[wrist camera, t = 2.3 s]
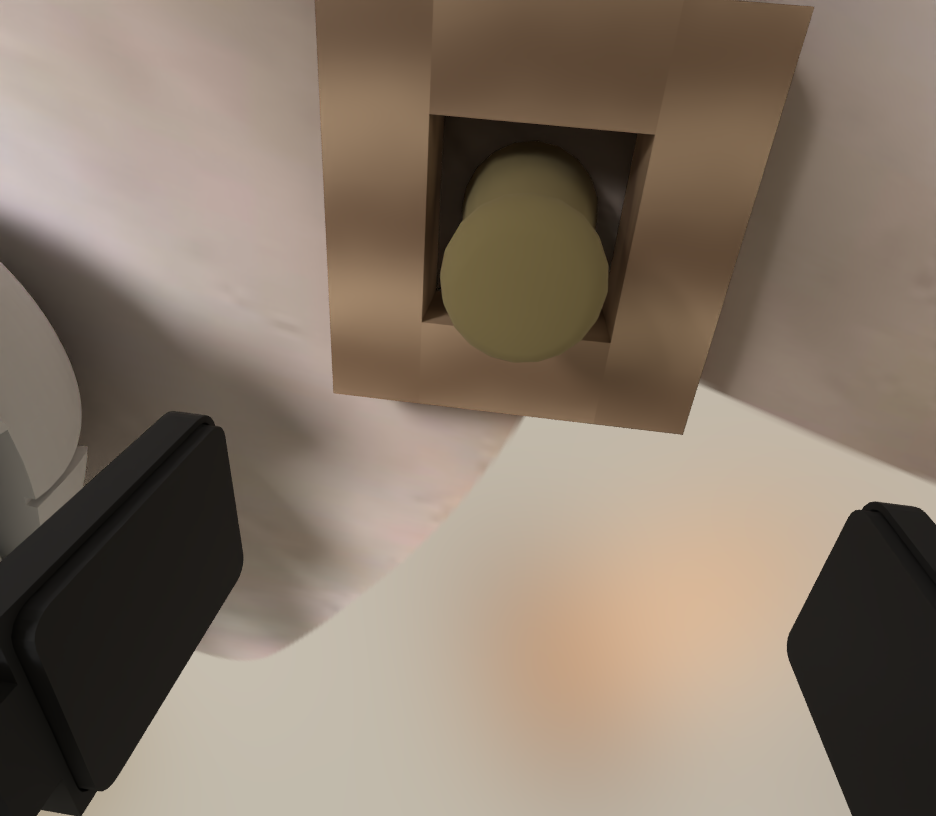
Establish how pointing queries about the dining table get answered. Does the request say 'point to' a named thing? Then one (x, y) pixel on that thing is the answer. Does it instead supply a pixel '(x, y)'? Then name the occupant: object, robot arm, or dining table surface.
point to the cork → (526, 255)
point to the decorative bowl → (34, 418)
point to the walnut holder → (561, 104)
